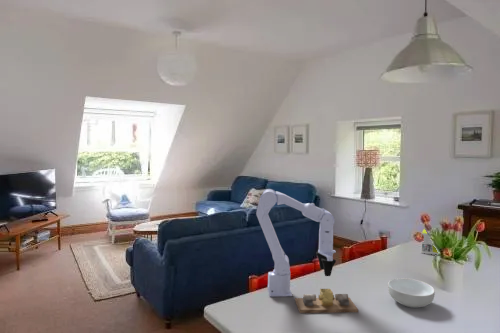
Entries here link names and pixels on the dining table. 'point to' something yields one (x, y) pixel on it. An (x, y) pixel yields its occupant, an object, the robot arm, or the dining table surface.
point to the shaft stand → (314, 306)
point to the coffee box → (427, 245)
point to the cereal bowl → (411, 292)
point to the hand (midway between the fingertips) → (325, 272)
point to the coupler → (326, 297)
